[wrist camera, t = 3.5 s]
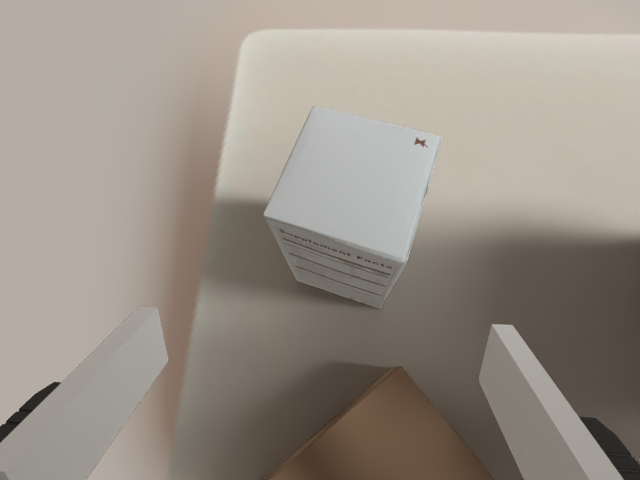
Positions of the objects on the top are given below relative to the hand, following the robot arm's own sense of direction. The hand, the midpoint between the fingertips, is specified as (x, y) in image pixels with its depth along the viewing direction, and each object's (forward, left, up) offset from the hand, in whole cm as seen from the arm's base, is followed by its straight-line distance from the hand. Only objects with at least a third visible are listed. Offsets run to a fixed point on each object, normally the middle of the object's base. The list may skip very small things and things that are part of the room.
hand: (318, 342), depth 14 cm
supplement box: (-7, -5, -13) cm, 15 cm away
